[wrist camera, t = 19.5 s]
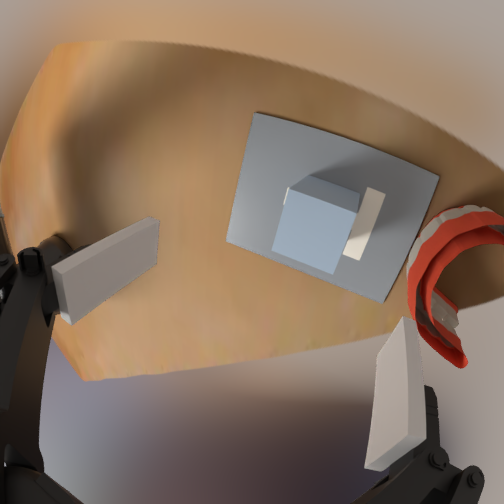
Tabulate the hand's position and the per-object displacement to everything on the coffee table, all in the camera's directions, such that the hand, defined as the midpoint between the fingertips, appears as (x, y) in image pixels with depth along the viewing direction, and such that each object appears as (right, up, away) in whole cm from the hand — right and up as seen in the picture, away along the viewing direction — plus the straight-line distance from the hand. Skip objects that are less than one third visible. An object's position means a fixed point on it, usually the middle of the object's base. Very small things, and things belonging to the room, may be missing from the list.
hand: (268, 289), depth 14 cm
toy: (+19, +2, +10) cm, 21 cm away
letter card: (+6, +6, +13) cm, 15 cm away
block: (+6, +6, +13) cm, 15 cm away
